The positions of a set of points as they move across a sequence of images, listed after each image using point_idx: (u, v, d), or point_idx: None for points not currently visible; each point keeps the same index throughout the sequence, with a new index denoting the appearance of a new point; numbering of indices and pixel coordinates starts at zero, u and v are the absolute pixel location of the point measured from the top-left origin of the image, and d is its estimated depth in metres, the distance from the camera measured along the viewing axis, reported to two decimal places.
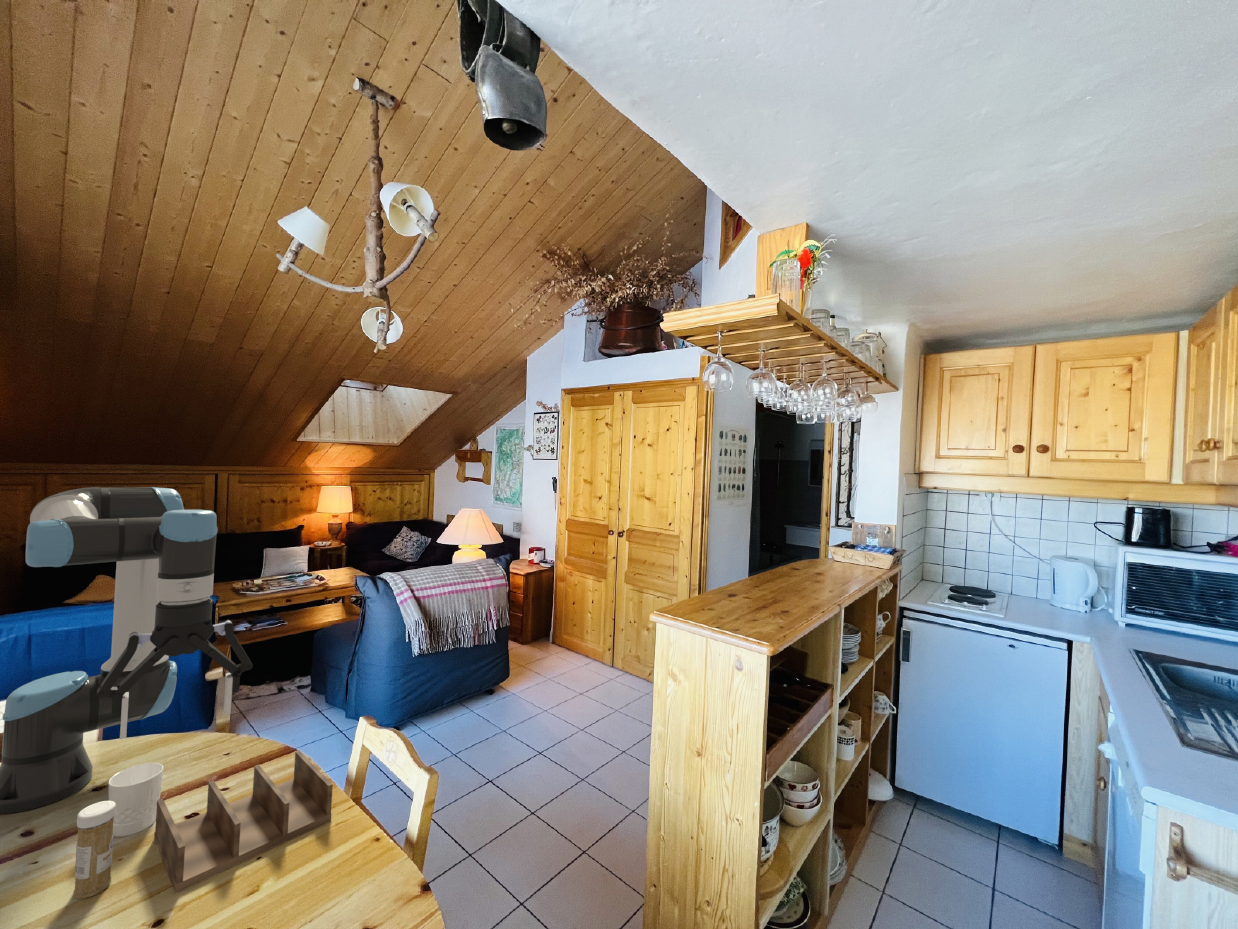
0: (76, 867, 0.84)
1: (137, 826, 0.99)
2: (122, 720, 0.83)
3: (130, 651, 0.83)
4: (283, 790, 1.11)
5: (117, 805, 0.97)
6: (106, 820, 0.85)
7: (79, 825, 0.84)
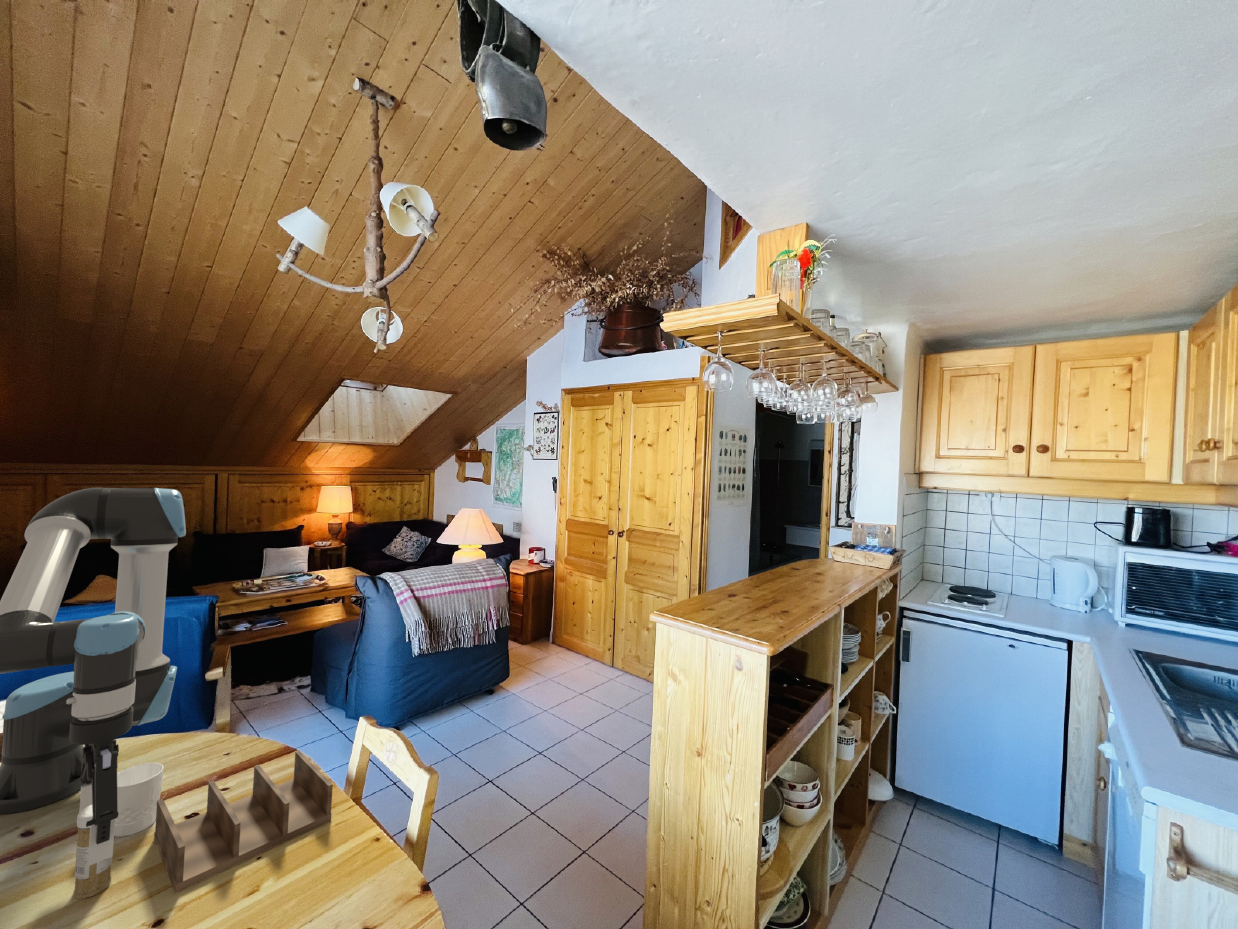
0: (76, 867, 0.84)
1: (137, 826, 0.99)
2: None
3: None
4: (283, 790, 1.11)
5: (117, 805, 0.97)
6: None
7: (79, 825, 0.84)
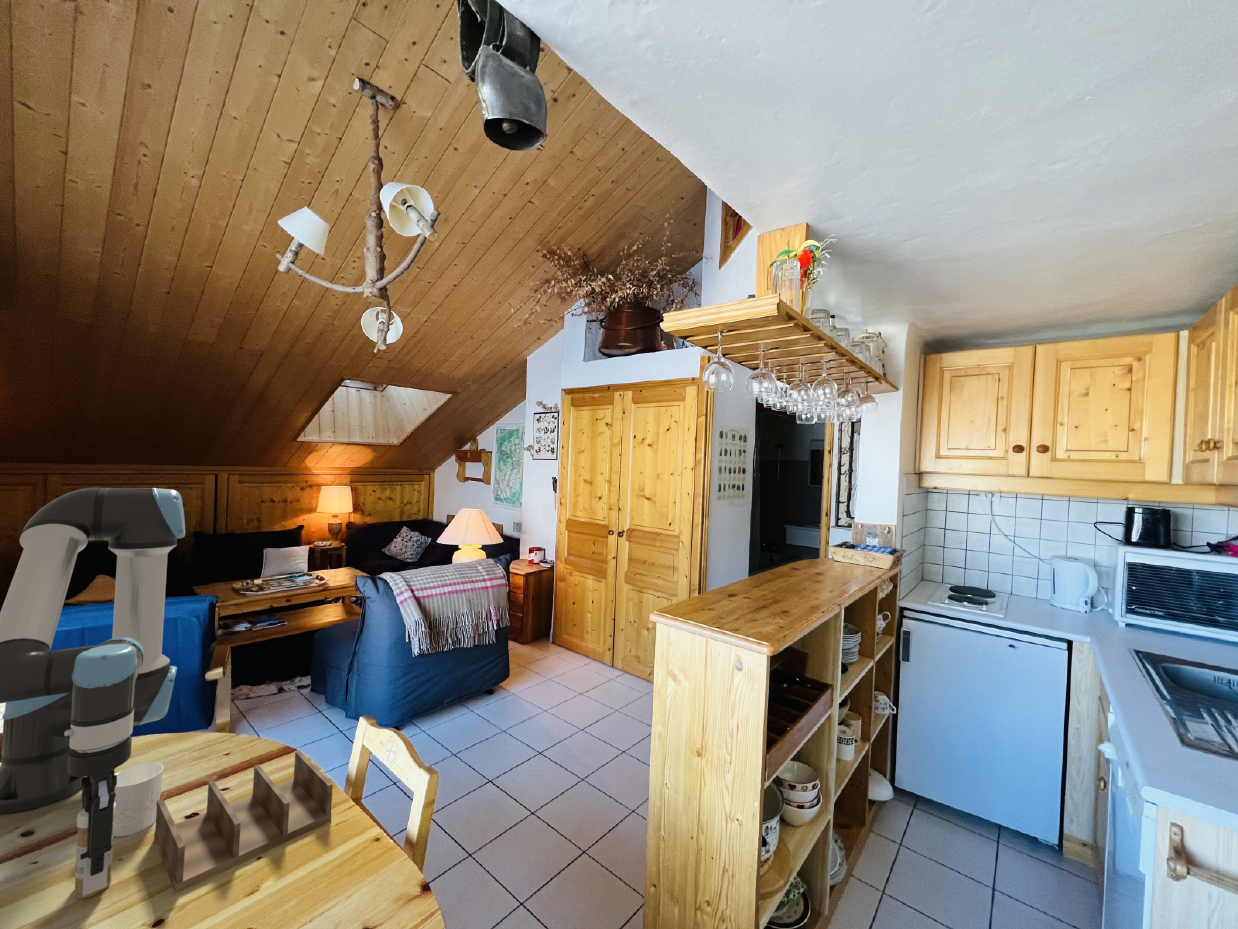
0: (76, 867, 0.84)
1: (137, 826, 0.99)
2: None
3: None
4: (283, 790, 1.11)
5: (117, 805, 0.97)
6: None
7: (79, 825, 0.84)
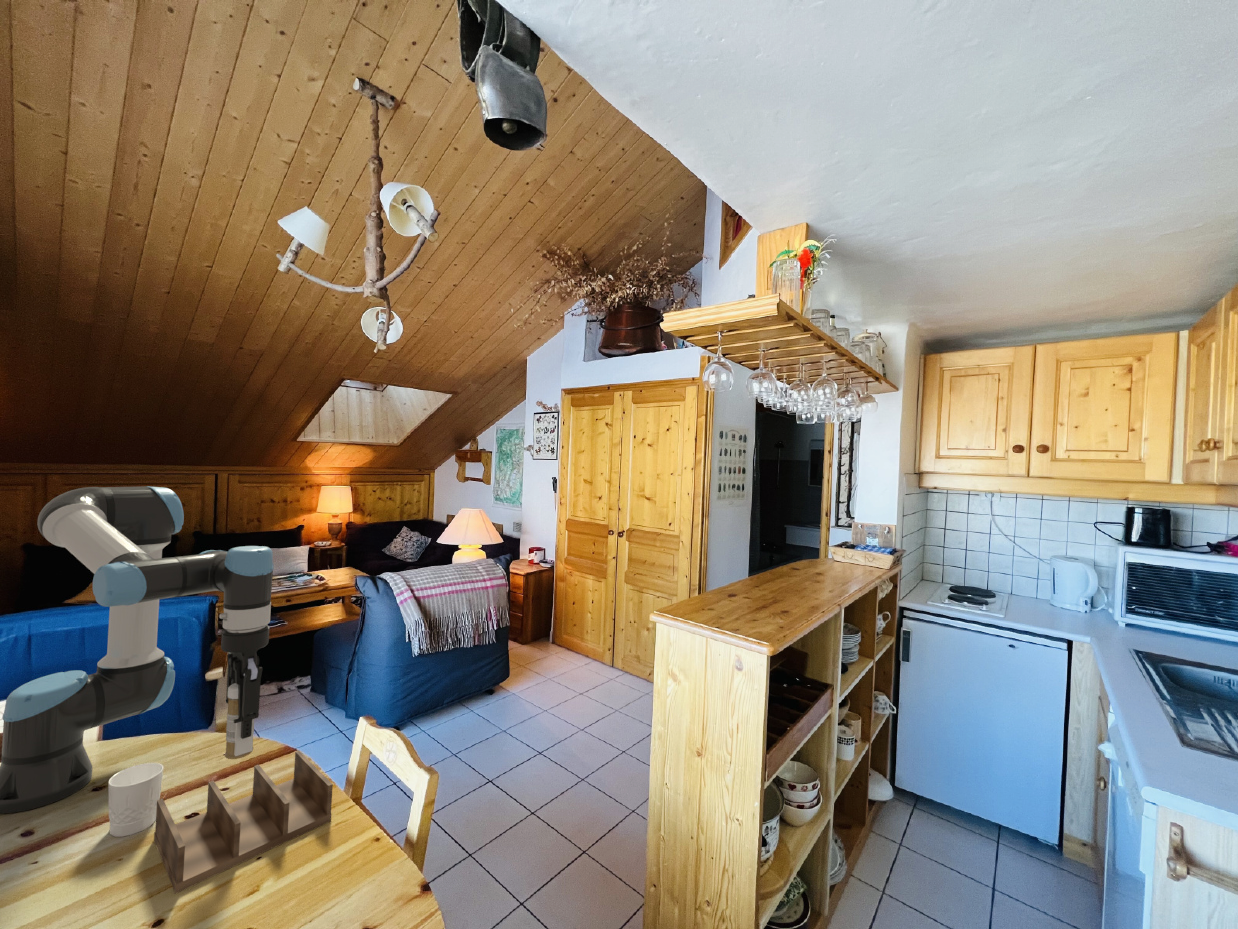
0: (228, 732, 0.98)
1: (137, 826, 0.99)
2: None
3: (228, 666, 1.02)
4: (283, 790, 1.11)
5: (117, 805, 0.97)
6: None
7: (230, 696, 0.97)
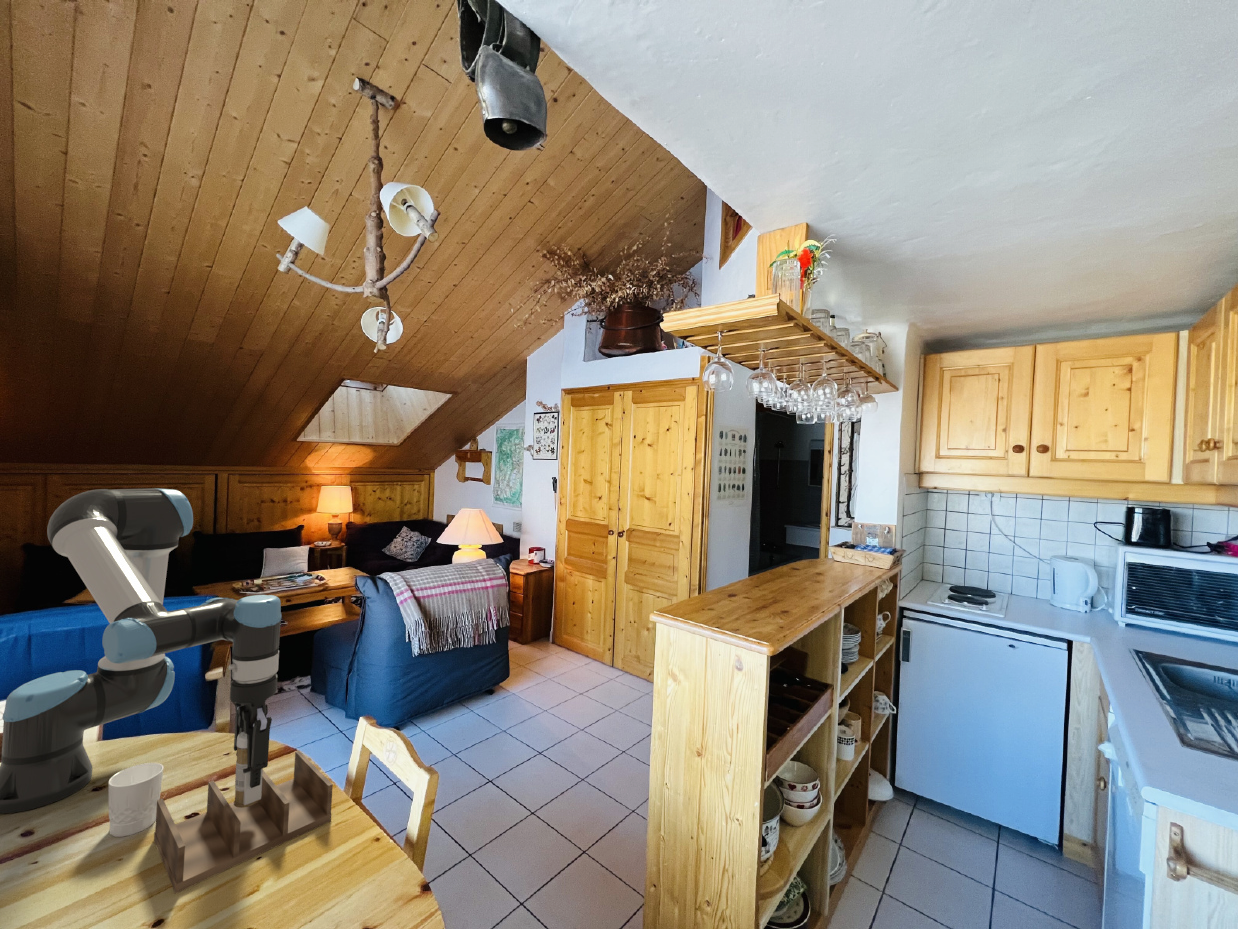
0: (237, 781, 0.99)
1: (137, 826, 0.99)
2: None
3: (236, 713, 1.04)
4: (283, 790, 1.11)
5: (117, 805, 0.97)
6: None
7: (239, 745, 0.99)
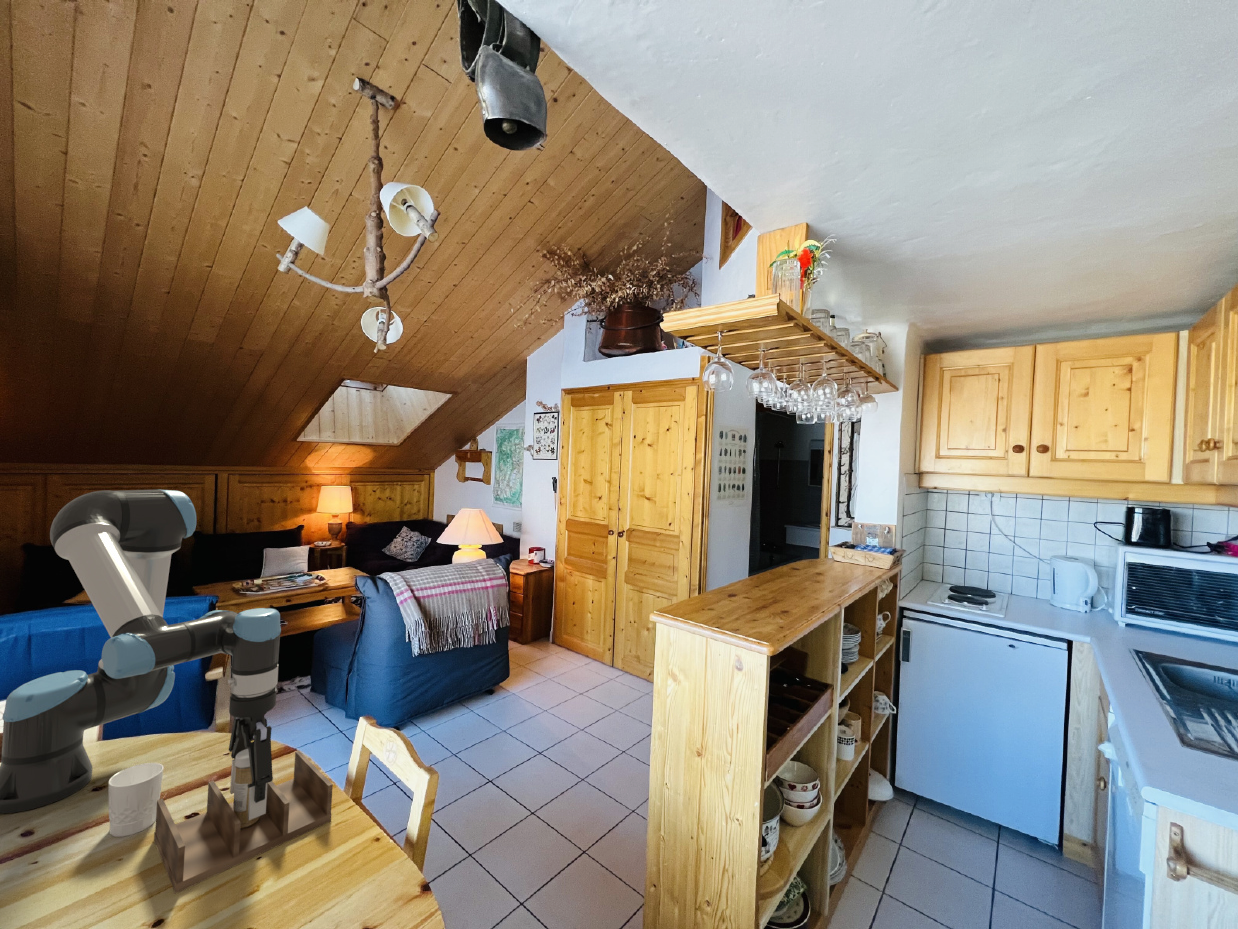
0: (235, 801, 0.99)
1: (137, 826, 0.99)
2: (231, 778, 1.04)
3: (234, 721, 1.04)
4: (283, 790, 1.11)
5: (117, 805, 0.97)
6: None
7: (238, 765, 0.99)
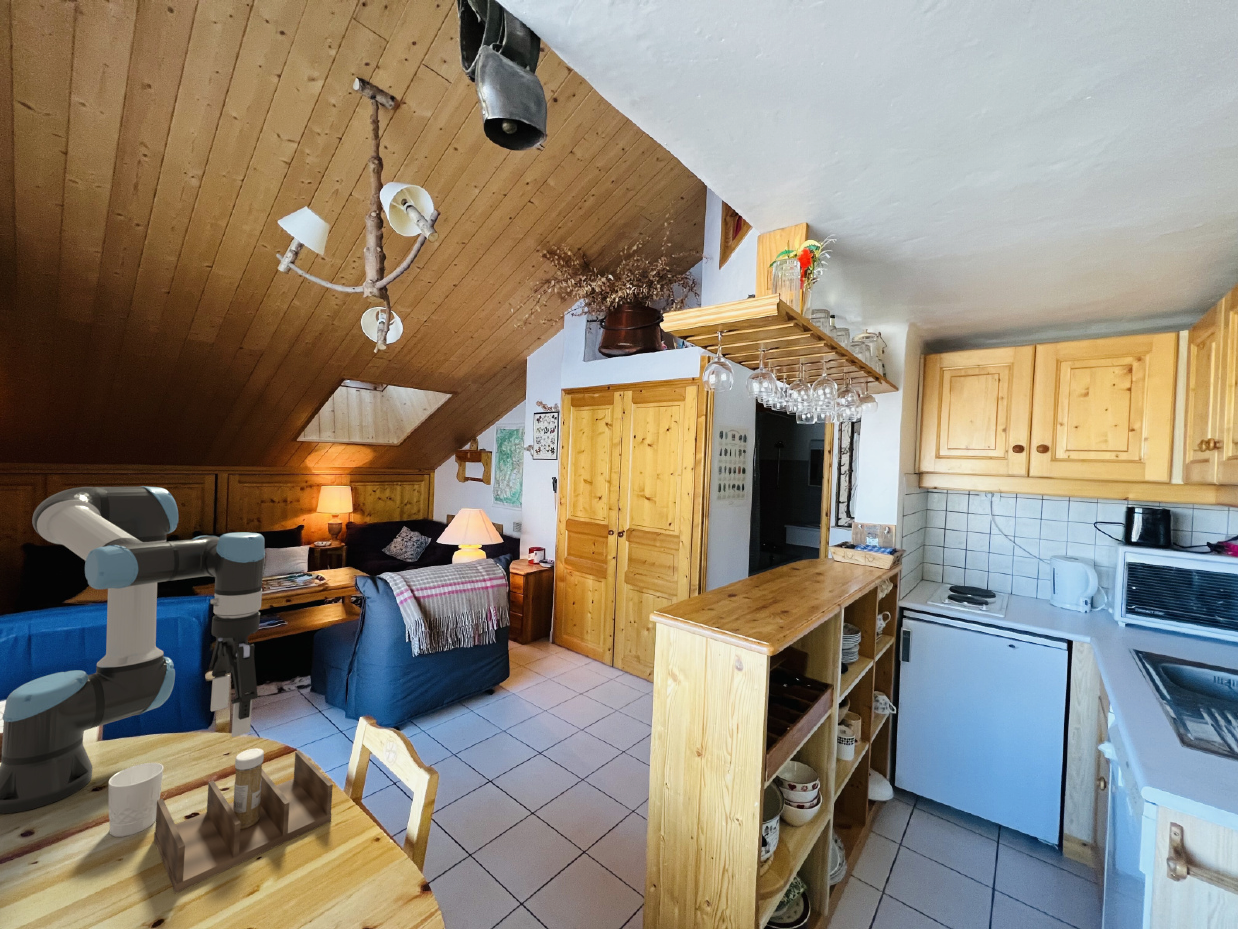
0: (235, 802, 0.99)
1: (137, 826, 0.99)
2: None
3: (217, 642, 1.04)
4: (283, 790, 1.11)
5: (117, 805, 0.97)
6: (258, 763, 1.01)
7: (238, 767, 0.99)
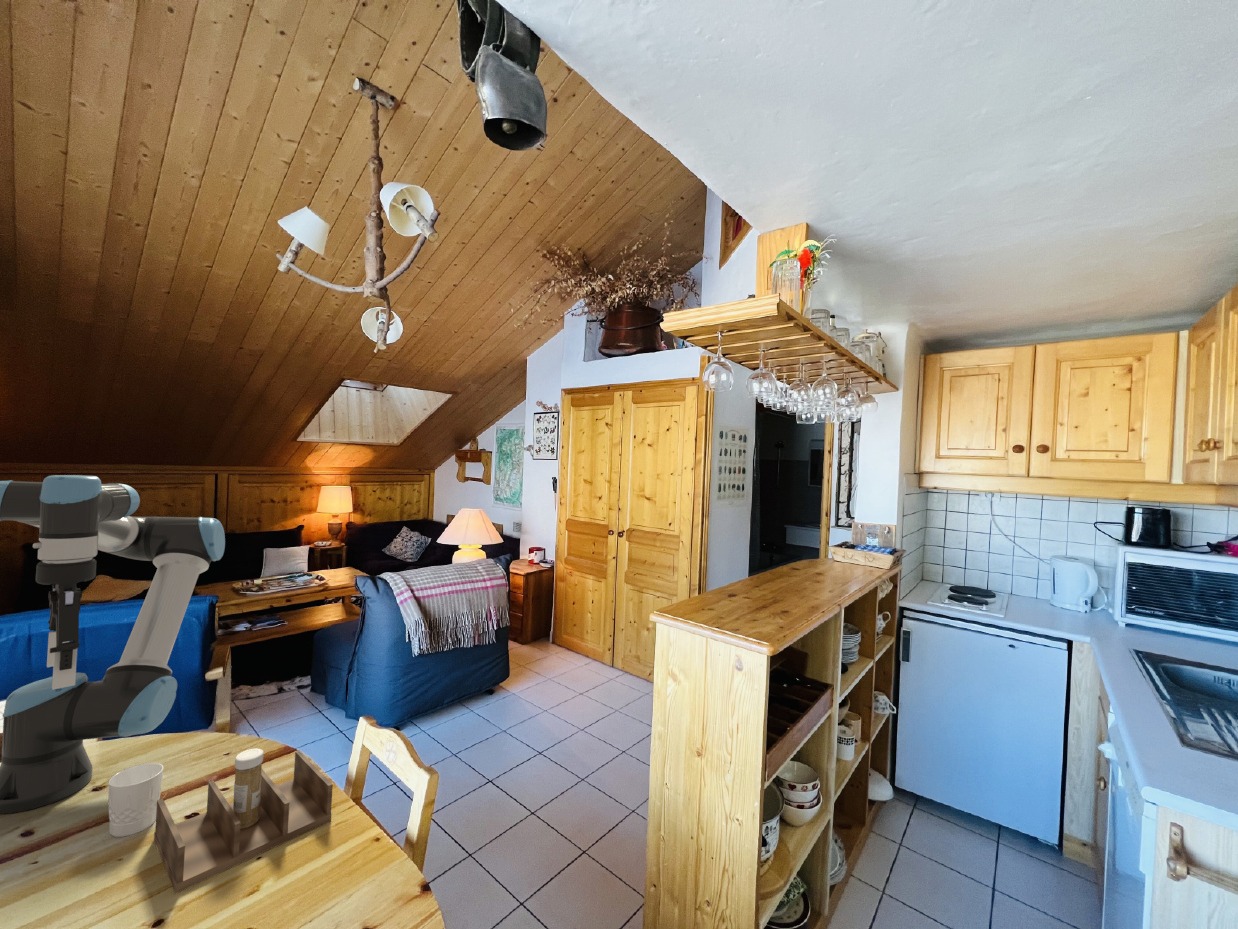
0: (235, 803, 0.99)
1: (137, 826, 0.99)
2: None
3: None
4: (283, 790, 1.11)
5: (117, 805, 0.97)
6: (258, 763, 1.01)
7: (238, 767, 0.99)
